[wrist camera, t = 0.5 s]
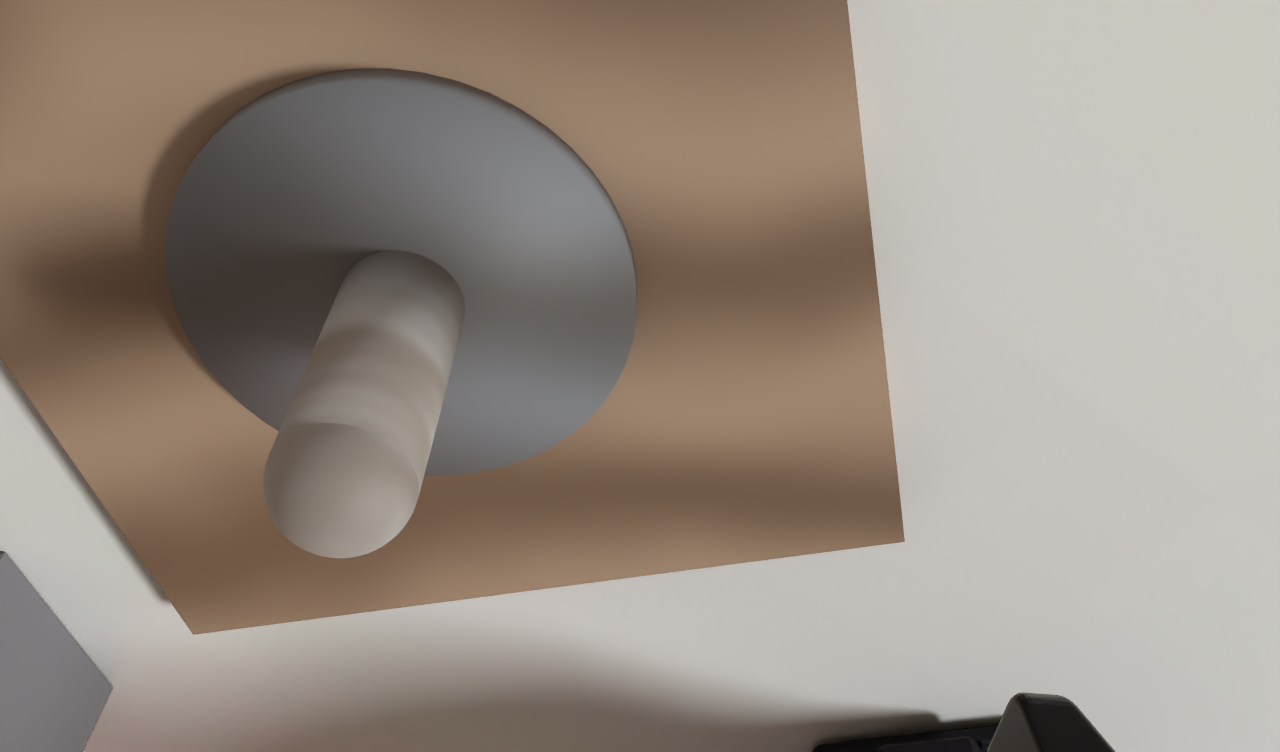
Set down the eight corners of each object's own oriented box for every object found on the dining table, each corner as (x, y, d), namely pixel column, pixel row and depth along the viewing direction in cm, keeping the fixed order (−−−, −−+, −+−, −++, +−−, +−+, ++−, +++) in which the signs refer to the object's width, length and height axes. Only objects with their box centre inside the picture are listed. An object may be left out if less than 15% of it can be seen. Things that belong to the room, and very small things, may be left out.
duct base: (897, 511, 27) (963, 809, 21) (206, 604, 30) (83, 892, 24) (802, -365, 16) (879, -286, 10) (-264, -97, 19) (-713, 94, 13)
